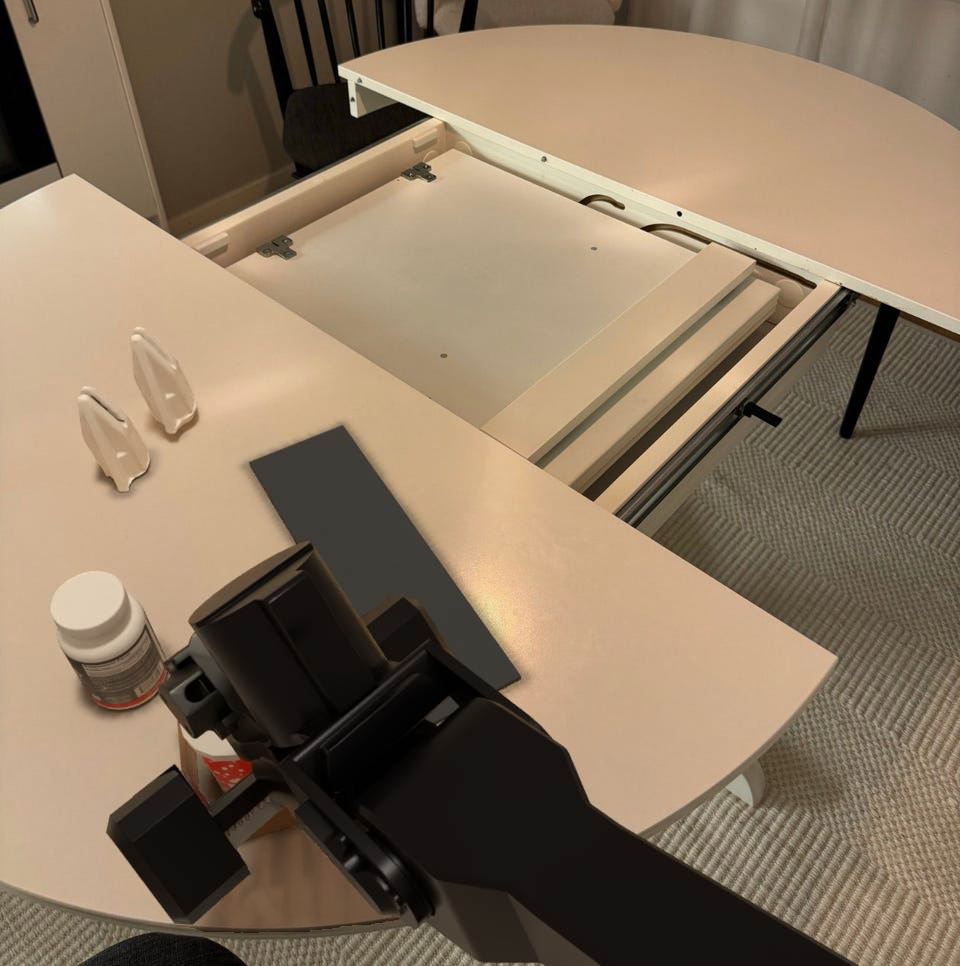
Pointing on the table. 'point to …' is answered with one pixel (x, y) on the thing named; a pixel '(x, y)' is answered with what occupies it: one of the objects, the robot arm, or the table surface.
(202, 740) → the beverage cup
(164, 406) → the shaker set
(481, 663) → the mat
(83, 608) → the pill bottle
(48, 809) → the table surface
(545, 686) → the table surface
